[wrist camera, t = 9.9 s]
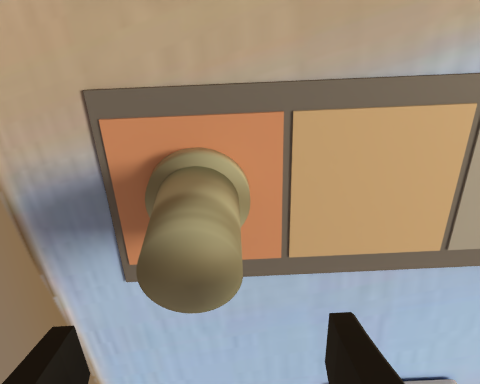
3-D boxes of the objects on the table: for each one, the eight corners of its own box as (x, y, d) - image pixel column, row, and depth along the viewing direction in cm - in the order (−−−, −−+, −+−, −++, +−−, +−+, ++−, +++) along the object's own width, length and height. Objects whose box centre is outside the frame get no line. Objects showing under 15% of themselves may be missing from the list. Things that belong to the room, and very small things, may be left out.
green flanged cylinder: (250, 233, 20) (258, 320, 15) (155, 237, 20) (133, 325, 15) (248, 144, 18) (256, 214, 13) (140, 149, 18) (108, 221, 13)
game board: (593, 259, 22) (596, 261, 22) (126, 280, 22) (125, 283, 21) (689, 64, 17) (693, 65, 17) (83, 90, 17) (82, 91, 16)
